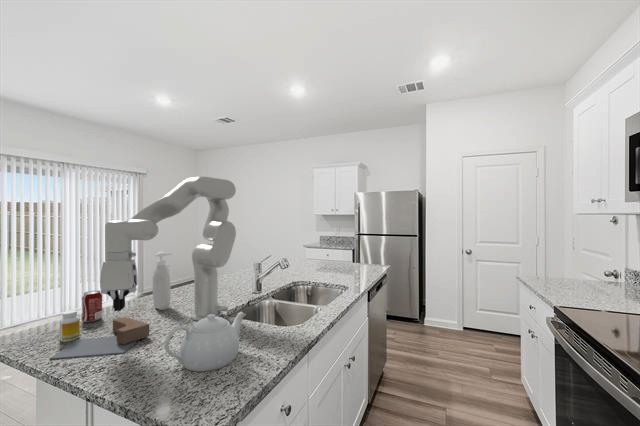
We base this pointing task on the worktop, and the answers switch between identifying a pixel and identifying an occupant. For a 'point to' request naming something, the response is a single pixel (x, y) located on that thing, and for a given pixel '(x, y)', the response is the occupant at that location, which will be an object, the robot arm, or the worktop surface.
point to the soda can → (91, 306)
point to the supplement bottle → (69, 326)
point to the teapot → (208, 343)
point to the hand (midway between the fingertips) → (119, 309)
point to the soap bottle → (161, 284)
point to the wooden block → (129, 330)
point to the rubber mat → (93, 348)
